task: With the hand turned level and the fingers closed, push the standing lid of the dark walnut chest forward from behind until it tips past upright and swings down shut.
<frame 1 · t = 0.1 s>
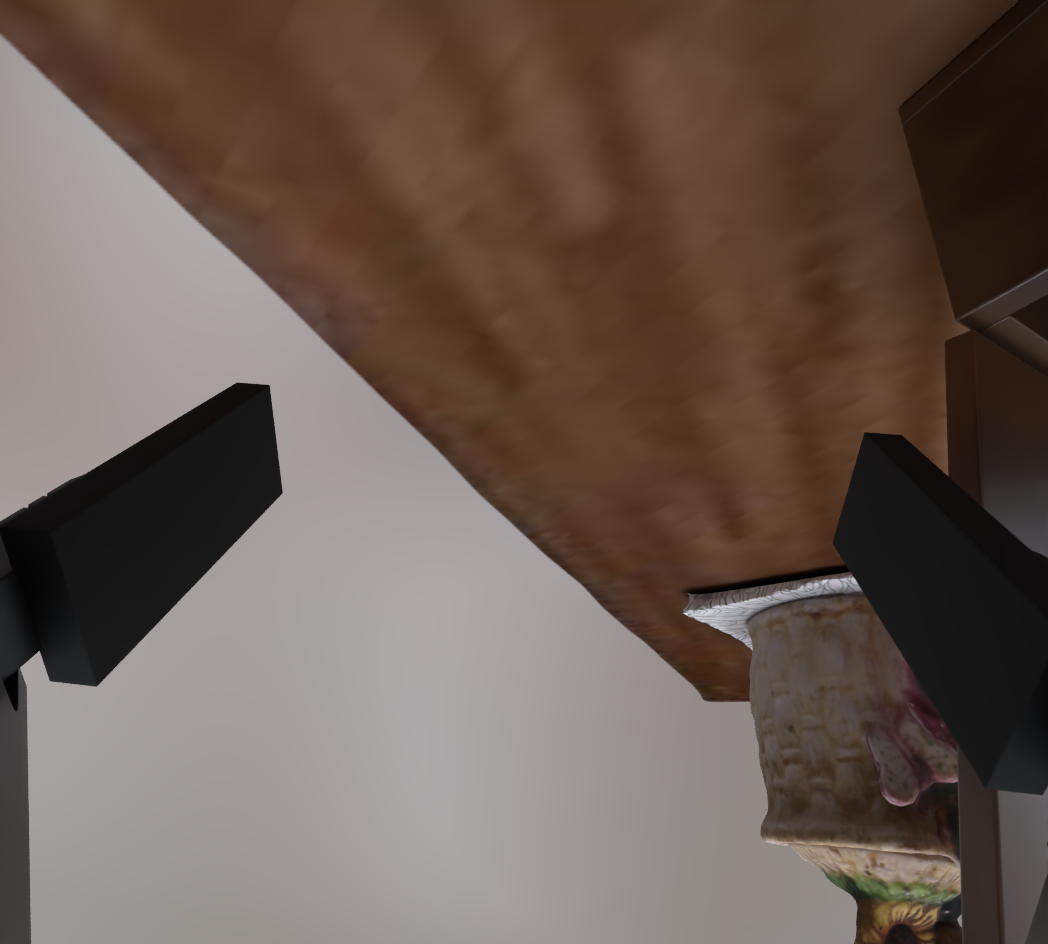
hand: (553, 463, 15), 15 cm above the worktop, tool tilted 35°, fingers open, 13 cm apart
cookie jar: (848, 610, 65), on the worktop
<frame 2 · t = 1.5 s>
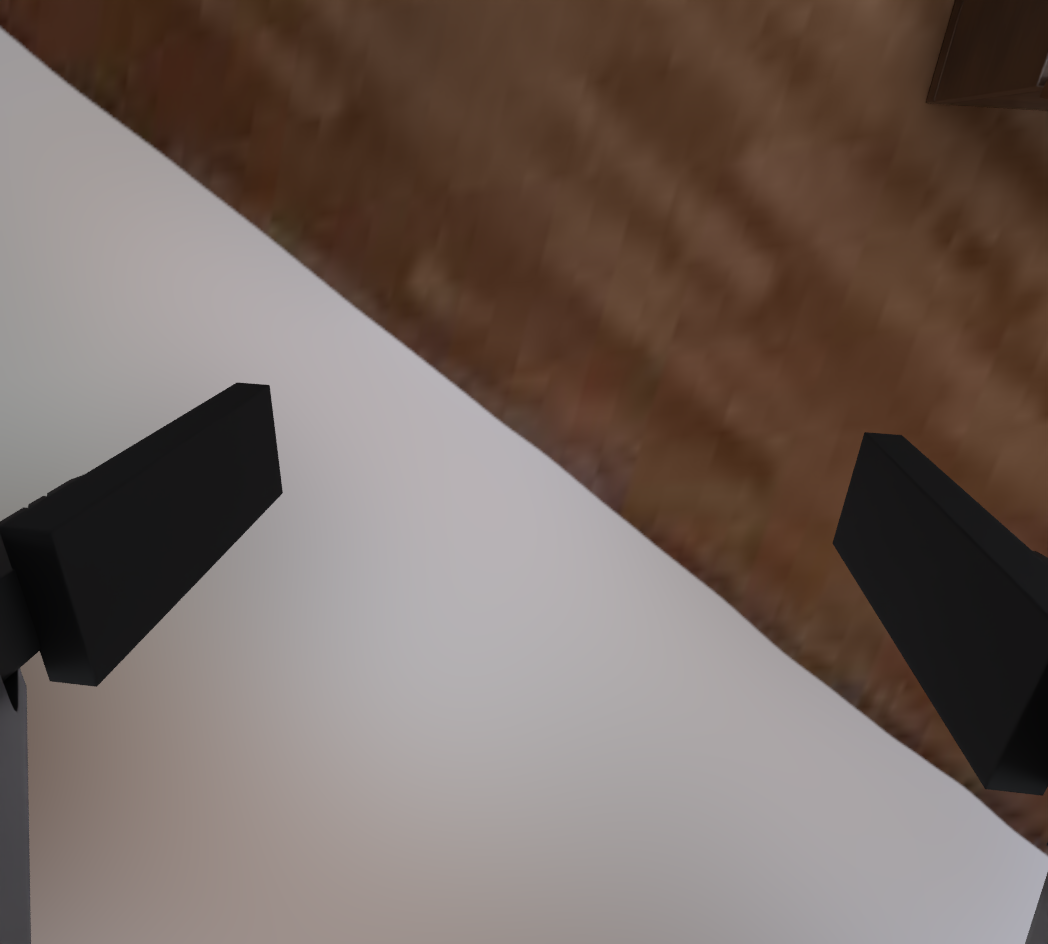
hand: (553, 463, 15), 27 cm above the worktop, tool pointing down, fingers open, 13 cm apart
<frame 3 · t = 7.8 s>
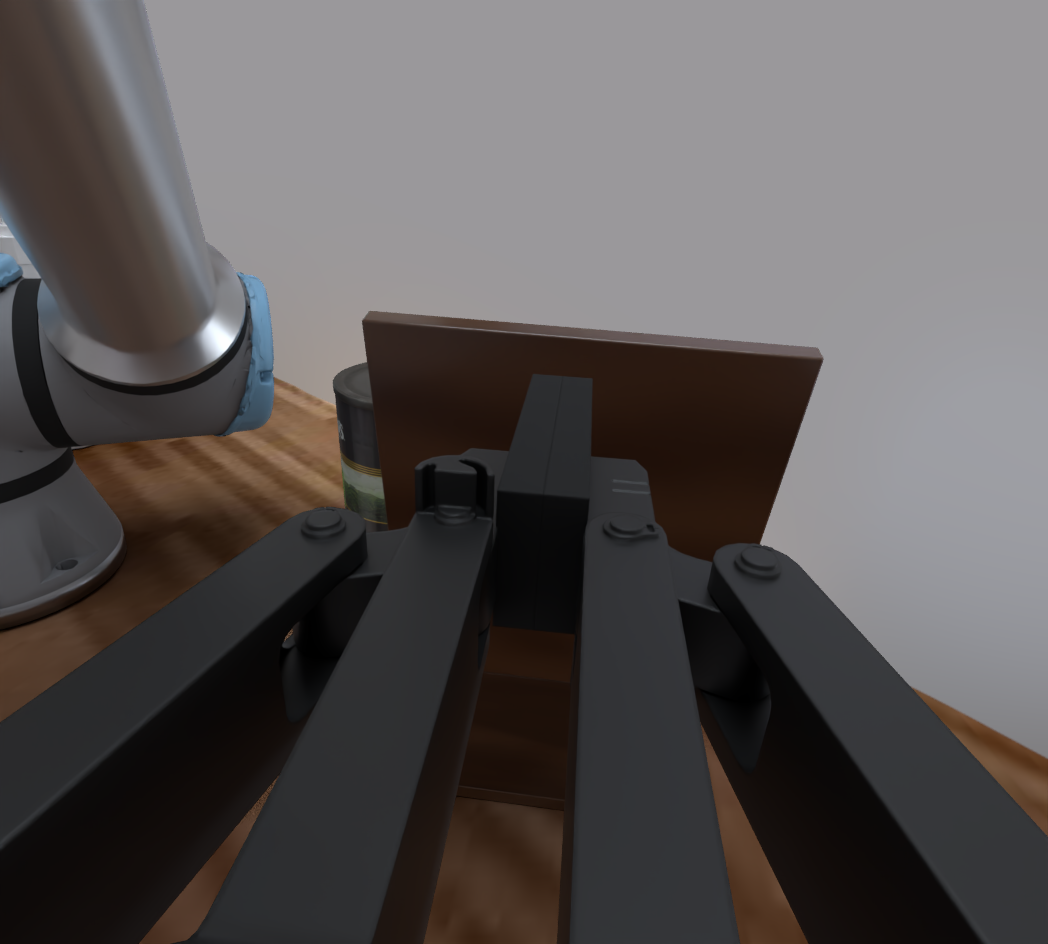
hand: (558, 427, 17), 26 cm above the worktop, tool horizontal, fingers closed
lid: (566, 538, 26), point 19 cm above the worktop, hinge at 100.0°
coffee can: (403, 526, 60), on the worktop
chest: (551, 692, 43), on the worktop
soap bottle: (81, 445, 71), on the worktop
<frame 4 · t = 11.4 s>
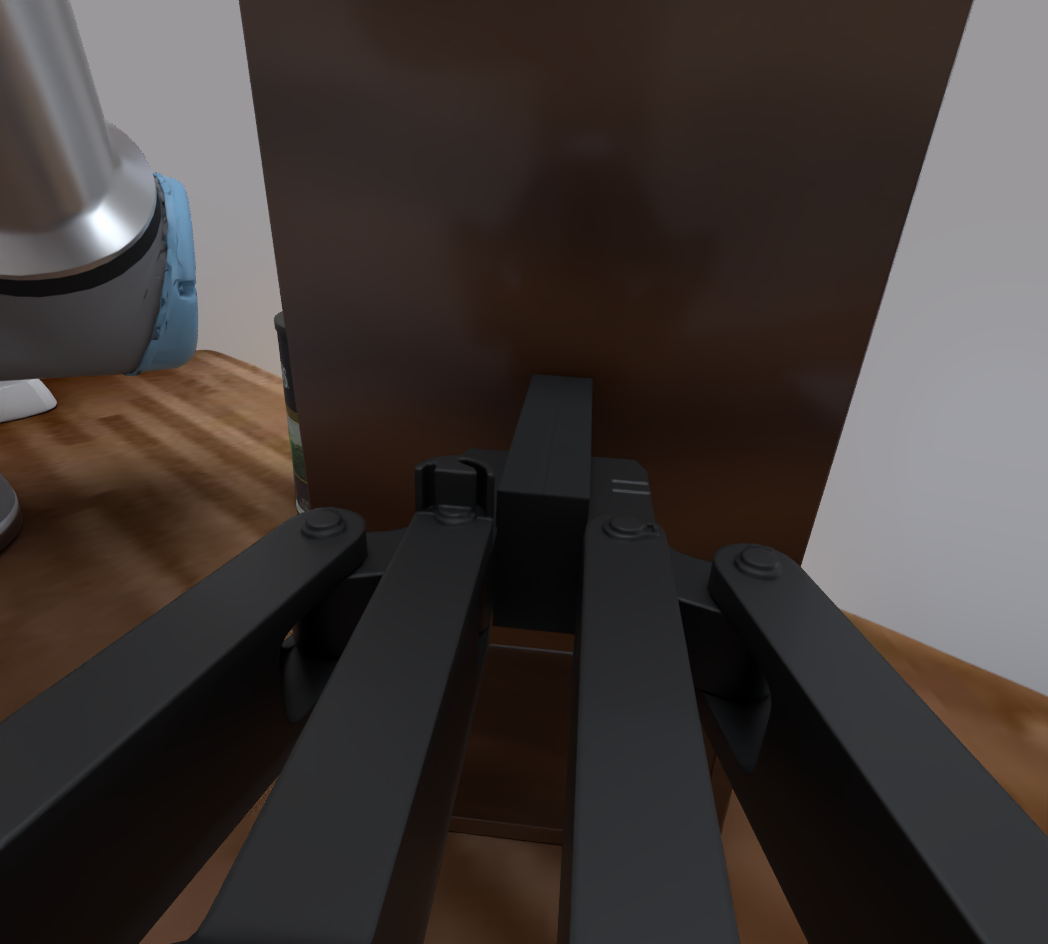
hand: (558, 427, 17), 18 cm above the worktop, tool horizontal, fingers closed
lid: (561, 390, 17), point 19 cm above the worktop, hinge at 94.1°, touching gripper
coffee can: (366, 502, 51), on the worktop
chest: (543, 687, 33), on the worktop
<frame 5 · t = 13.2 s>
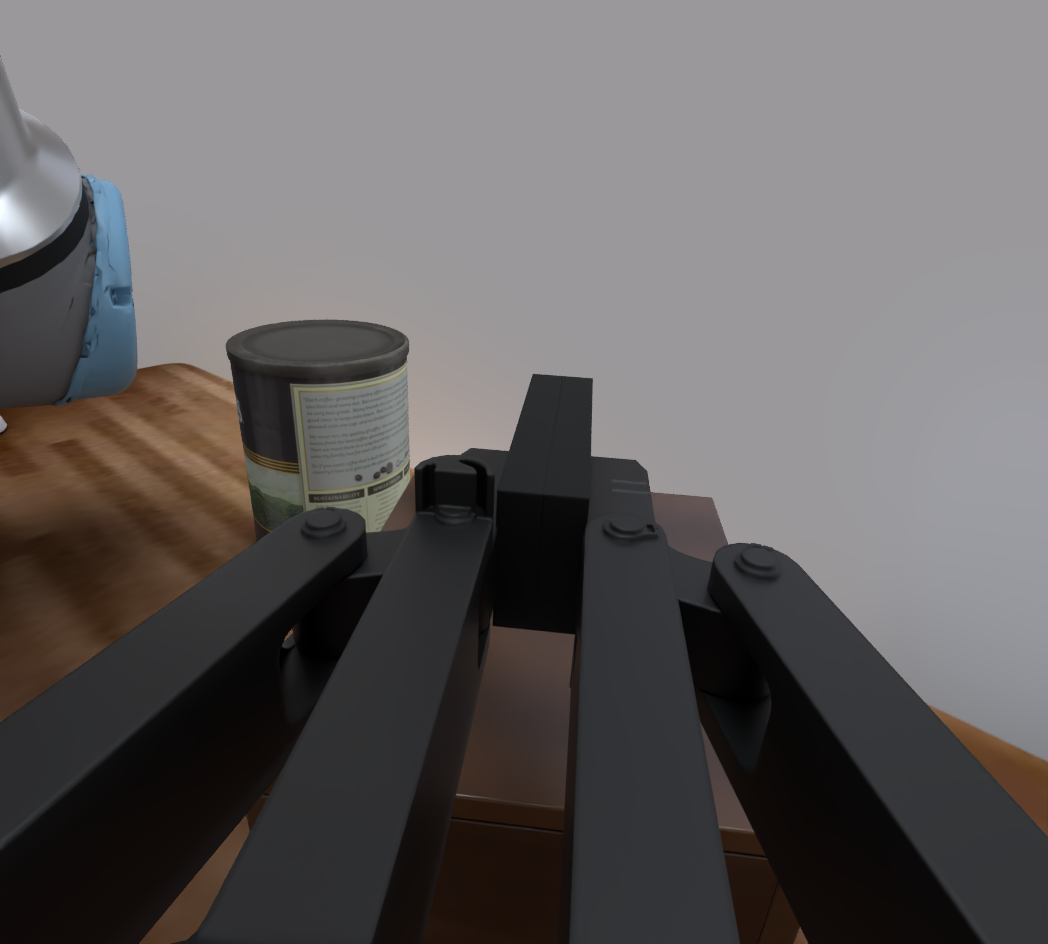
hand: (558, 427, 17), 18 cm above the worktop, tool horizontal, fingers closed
lid: (548, 599, 24), point 10 cm above the worktop, hinge at -0.1°
coffee can: (338, 545, 45), on the worktop
chest: (533, 797, 28), on the worktop
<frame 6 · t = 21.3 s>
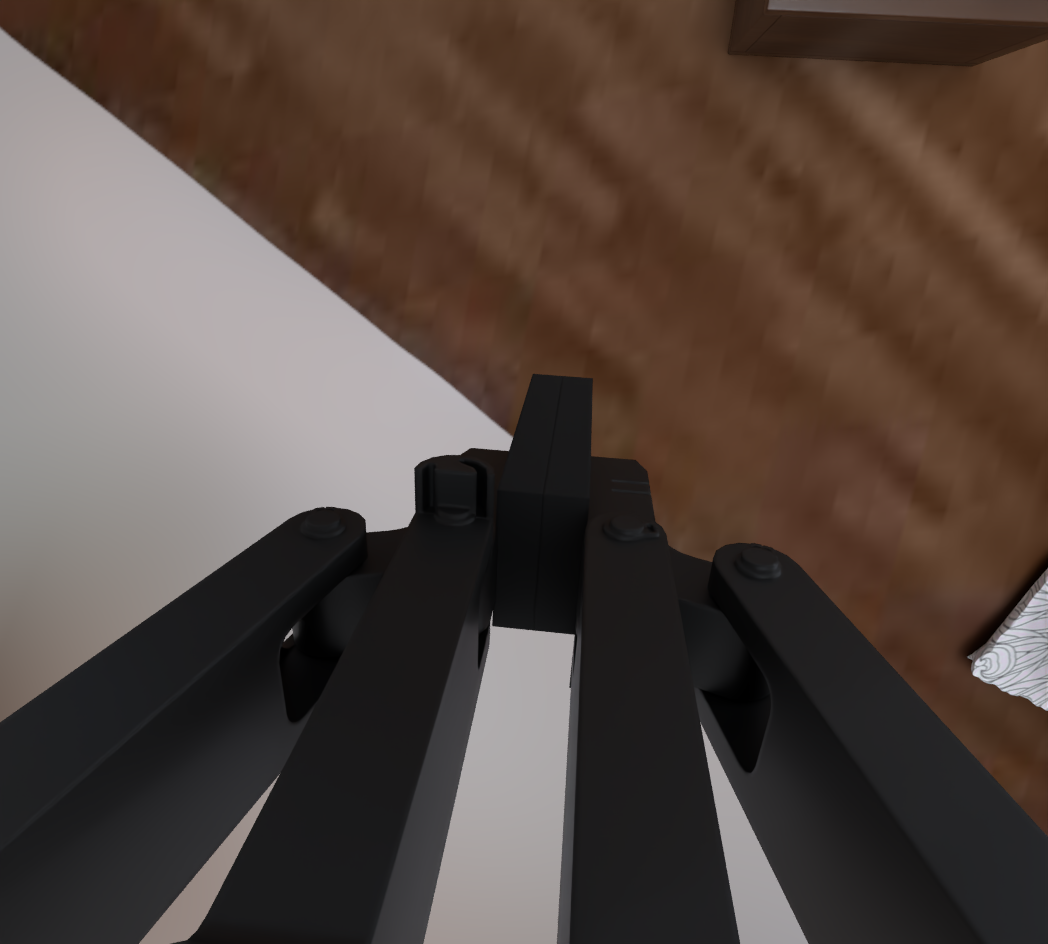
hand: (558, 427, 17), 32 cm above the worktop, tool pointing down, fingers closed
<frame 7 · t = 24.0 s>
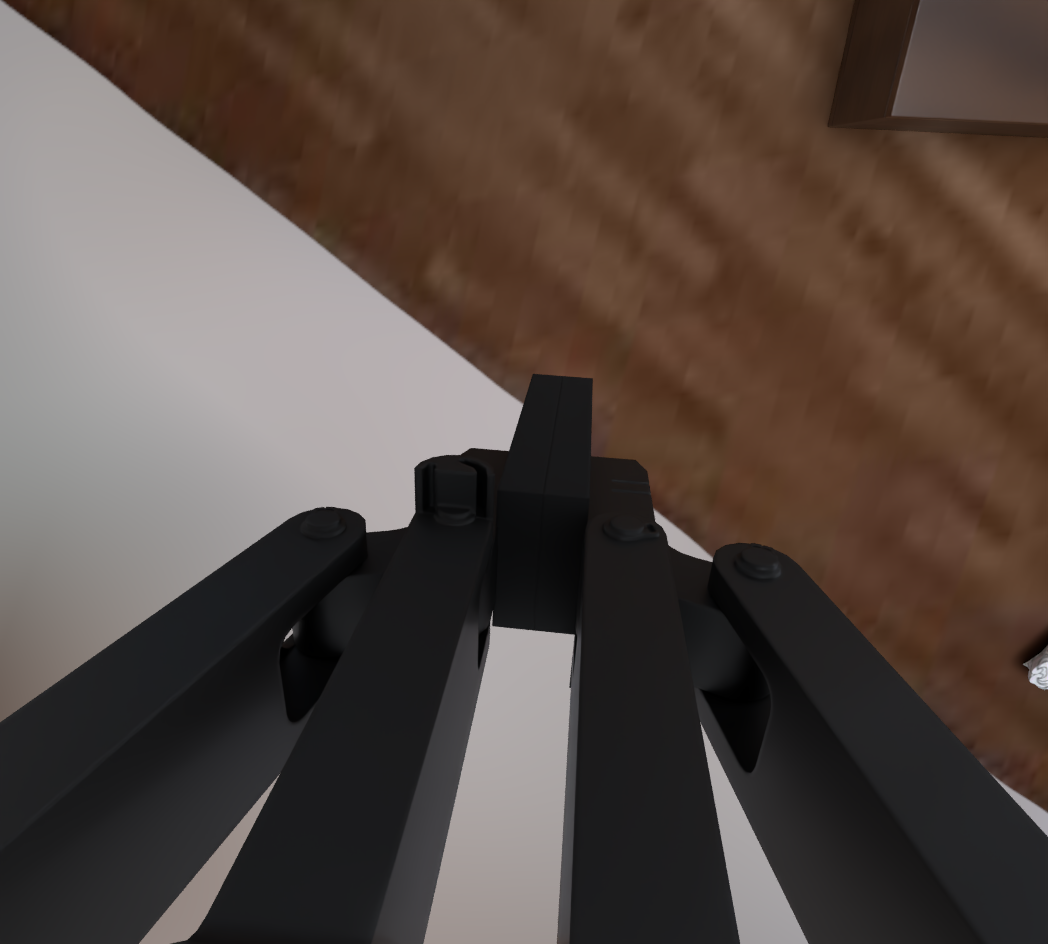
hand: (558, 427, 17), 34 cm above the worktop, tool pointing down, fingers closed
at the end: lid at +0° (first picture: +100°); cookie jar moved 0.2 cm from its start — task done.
